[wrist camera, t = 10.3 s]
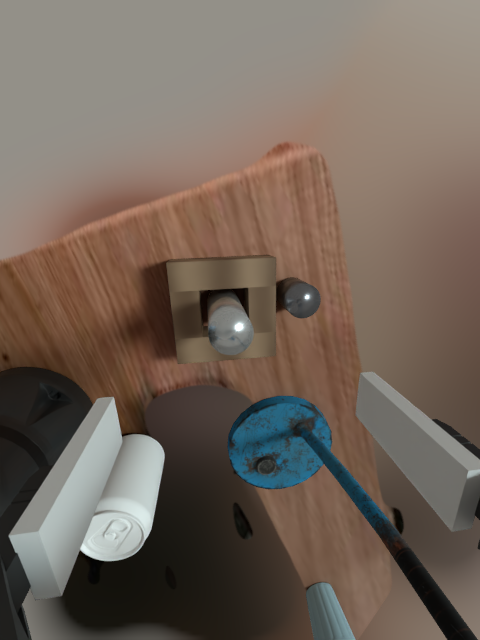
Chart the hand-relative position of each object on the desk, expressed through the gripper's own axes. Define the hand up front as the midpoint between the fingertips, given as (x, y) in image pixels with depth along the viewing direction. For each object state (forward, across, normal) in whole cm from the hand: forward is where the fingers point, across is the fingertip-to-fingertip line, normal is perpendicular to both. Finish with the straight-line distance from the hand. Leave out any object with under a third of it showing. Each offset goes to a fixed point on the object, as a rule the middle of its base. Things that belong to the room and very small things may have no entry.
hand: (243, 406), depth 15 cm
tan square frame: (+22, 0, 0) cm, 22 cm away
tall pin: (+22, 0, 0) cm, 22 cm away
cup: (+22, +16, -61) cm, 67 cm away
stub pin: (+22, +9, +1) cm, 24 cm away
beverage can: (+22, -14, -22) cm, 34 cm away
